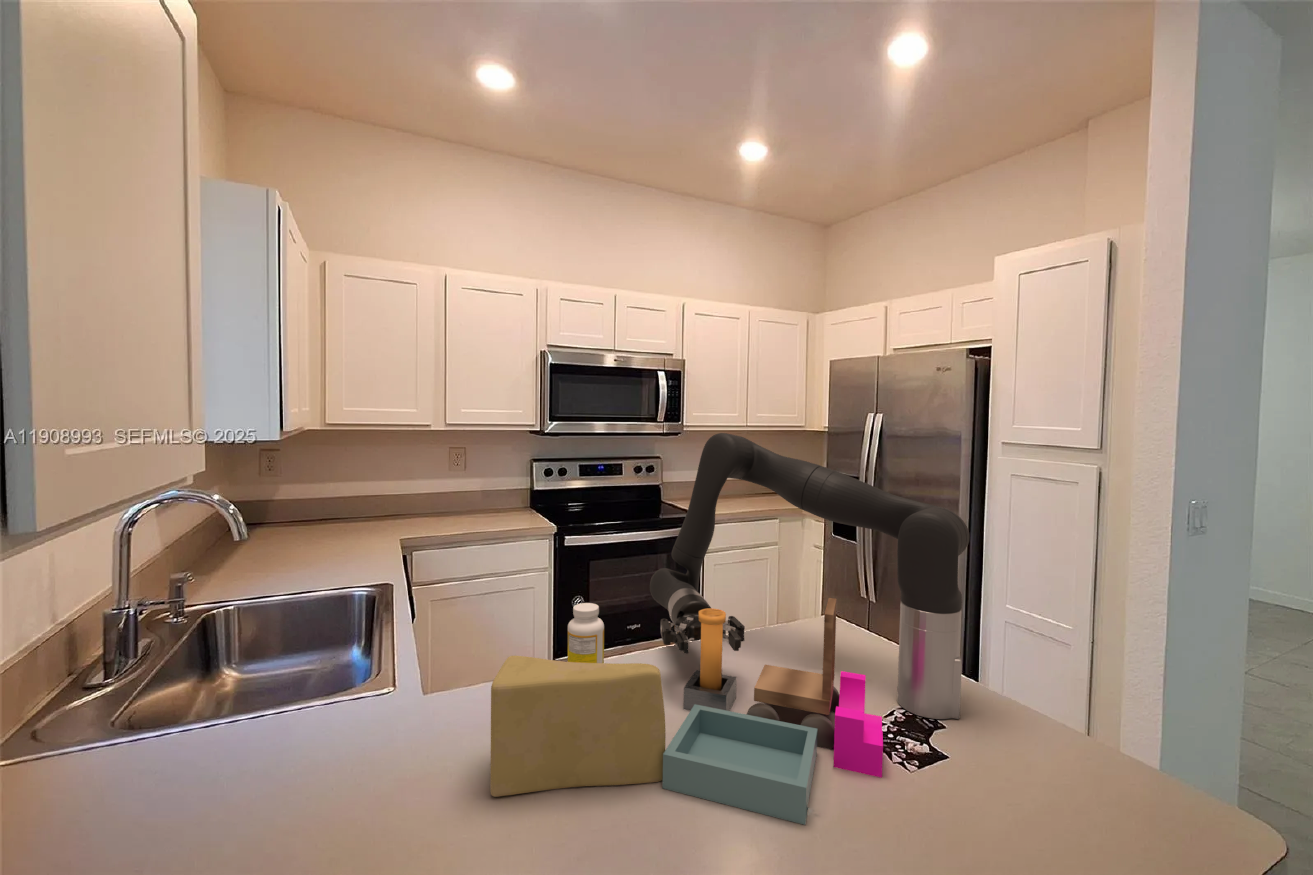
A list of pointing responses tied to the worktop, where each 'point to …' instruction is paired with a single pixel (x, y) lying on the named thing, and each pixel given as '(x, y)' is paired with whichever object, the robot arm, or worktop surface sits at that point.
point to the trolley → (803, 687)
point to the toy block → (857, 729)
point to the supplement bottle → (586, 635)
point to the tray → (743, 762)
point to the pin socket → (710, 693)
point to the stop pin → (711, 647)
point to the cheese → (575, 725)
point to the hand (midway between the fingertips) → (711, 646)
